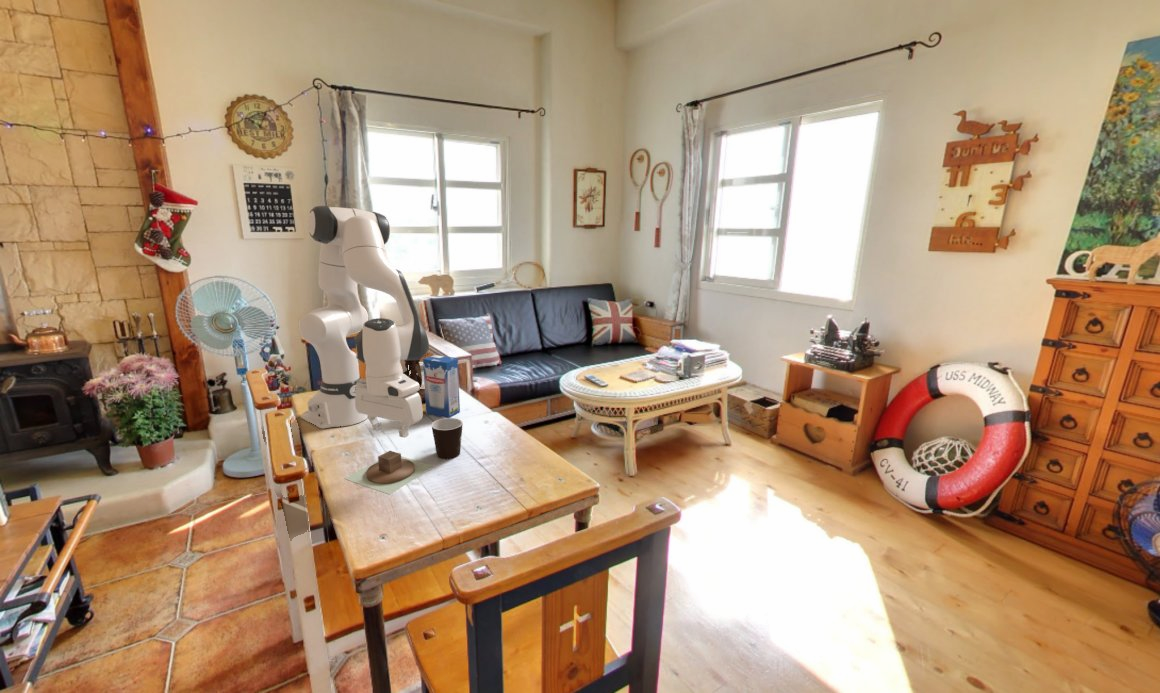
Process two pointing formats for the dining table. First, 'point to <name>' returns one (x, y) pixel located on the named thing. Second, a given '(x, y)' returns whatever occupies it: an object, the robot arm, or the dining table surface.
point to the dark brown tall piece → (415, 374)
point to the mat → (391, 487)
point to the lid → (390, 469)
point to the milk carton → (441, 386)
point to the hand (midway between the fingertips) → (390, 433)
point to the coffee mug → (447, 437)
